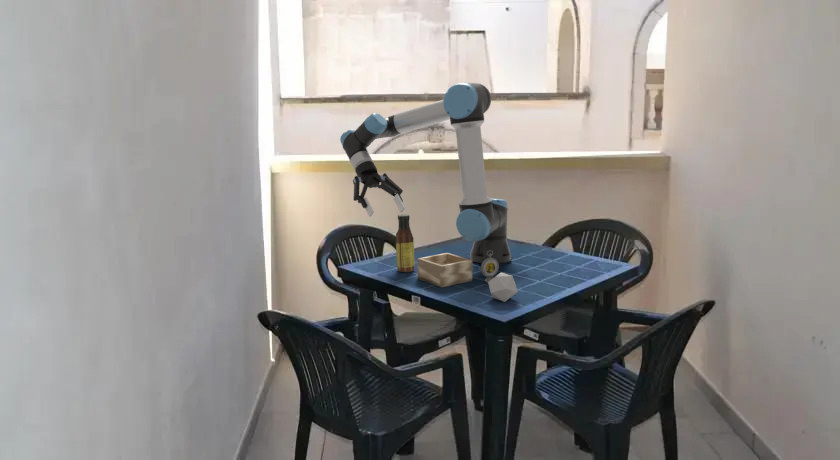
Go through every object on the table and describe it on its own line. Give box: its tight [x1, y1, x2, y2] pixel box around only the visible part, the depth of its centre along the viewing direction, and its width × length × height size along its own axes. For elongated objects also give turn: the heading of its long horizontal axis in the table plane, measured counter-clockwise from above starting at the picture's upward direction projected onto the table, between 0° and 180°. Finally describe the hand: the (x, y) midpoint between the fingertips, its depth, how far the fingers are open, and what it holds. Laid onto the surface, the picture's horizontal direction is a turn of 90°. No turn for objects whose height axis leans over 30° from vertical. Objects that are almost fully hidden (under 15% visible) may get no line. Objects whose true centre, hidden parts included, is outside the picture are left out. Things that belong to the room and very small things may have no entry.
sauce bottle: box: [395, 213, 416, 273], centre depth 236 cm, size 7×6×20 cm
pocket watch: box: [480, 251, 500, 284], centre depth 223 cm, size 8×8×10 cm
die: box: [487, 272, 519, 303], centre depth 205 cm, size 8×9×10 cm
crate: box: [417, 252, 473, 288], centre depth 226 cm, size 13×13×7 cm
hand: (387, 212), depth 241 cm, fingers open, 13 cm apart
